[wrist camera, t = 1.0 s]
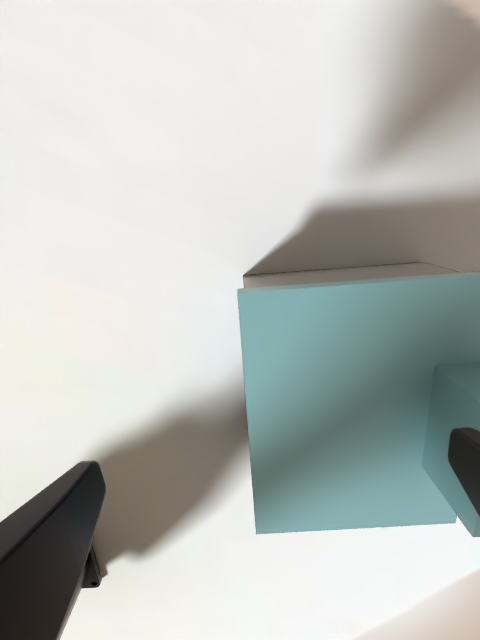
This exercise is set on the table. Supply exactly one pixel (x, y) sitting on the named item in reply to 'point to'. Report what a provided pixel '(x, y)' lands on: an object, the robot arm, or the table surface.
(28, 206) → the table surface
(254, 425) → the lid
